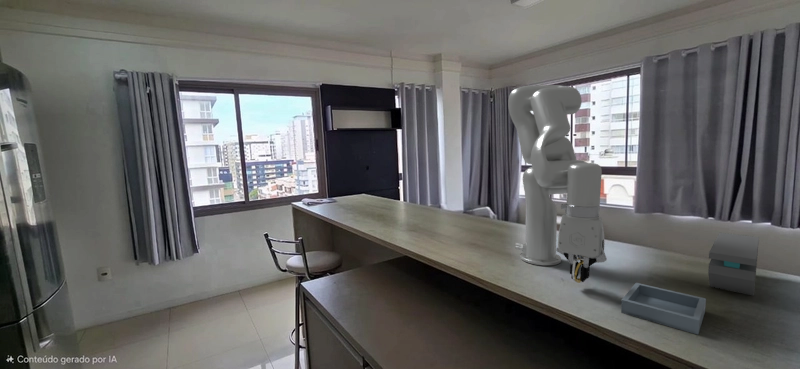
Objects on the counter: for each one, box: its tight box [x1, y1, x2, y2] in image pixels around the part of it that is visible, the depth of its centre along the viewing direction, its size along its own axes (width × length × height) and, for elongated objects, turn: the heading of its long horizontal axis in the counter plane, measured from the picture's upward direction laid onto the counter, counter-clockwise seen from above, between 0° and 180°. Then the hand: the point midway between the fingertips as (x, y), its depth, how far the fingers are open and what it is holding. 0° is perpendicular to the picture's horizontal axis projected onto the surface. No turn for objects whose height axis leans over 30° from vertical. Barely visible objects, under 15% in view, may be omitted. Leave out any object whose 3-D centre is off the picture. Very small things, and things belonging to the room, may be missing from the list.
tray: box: [620, 282, 707, 336], centre depth 74 cm, size 13×13×3 cm
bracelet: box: [571, 255, 584, 284], centre depth 87 cm, size 7×3×8 cm, turn 127°
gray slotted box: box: [707, 232, 760, 297], centre depth 86 cm, size 25×8×11 cm, turn 132°
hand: (579, 278), depth 87 cm, fingers closed on bracelet, 1 cm apart
